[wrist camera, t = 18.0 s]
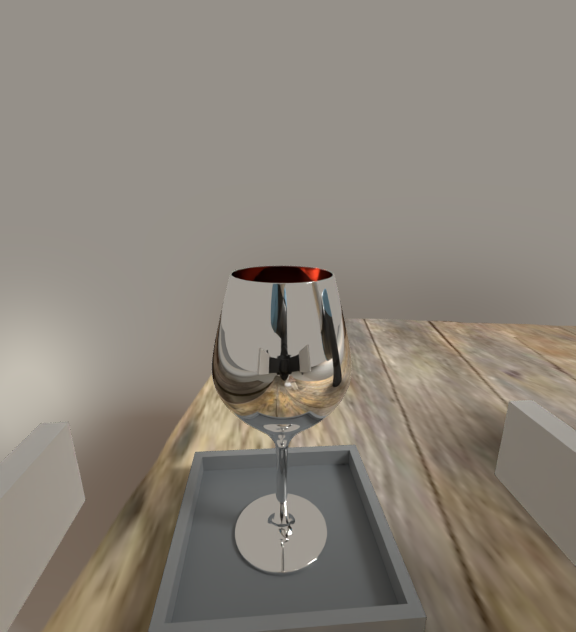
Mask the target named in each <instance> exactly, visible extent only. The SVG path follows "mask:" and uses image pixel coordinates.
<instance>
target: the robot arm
mask: <svg viewBox="0 0 576 632" xmlns="http://www.w3.org/2000/svg"><path fill="white" fill-rule="evenodd" d="M495 476H496V477H497V478H498V479H499V480H500V481H501V482H502V484H503V485H504V486H505V487H506V488H507V489H508V490H509V491H510V493H511V494H512V495H513V496H514V497H515V498H516V499H517V501H518V502H519V503H520V504H521V505H522V506H523V507H524V509H525V510H526V511H527V512H528V513H529V514H530V515H531V516H532V518H533V519H534V520H535V521H536V522H537V523H538V524H539V526H540V527H541V528H542V529H543V530H544V531H545V532H546V534H547V535H548V536H549V537H550V538H551V539H552V540H553V541H554V543H555V544H556V545H557V546H558V547H559V548H560V549H561V551H562V552H563V553H564V554H565V555H566V556H567V557H568V558H569V560H570V561H571V562H572V563H573V564H574V565H575V566H576V430H574V429H573V428H571V427H570V426H569V425H567V424H566V423H564V422H563V421H562V420H560V419H559V418H557V417H556V416H554V415H553V414H552V413H550V412H549V411H547V410H546V409H545V408H543V407H542V406H540V405H539V404H537V403H536V402H535V401H533V400H523V401H509V405H508V410H507V415H506V420H505V425H504V430H503V435H502V440H501V445H500V450H499V455H498V460H497V465H496V470H495ZM84 502H85V495H84V491H83V486H82V481H81V476H80V471H79V467H78V462H77V458H76V453H75V448H74V443H73V439H72V434H71V429H70V425H69V422H57V423H56V422H55V423H40V424H39V425H38V426H37V427H36V428H35V429H34V430H33V431H32V432H31V433H30V434H29V435H28V436H27V437H26V438H25V439H24V440H23V441H22V442H21V443H20V444H19V445H18V446H17V447H16V448H15V449H14V450H13V451H12V452H11V453H10V454H9V455H8V456H7V457H6V458H5V459H4V460H3V461H2V462H1V463H0V632H7V631H8V630H9V628H10V626H11V625H12V623H13V621H14V619H15V618H16V616H17V615H18V613H19V611H20V609H21V608H22V606H23V604H24V603H25V601H26V599H27V598H28V596H29V594H30V593H31V591H32V589H33V588H34V586H35V584H36V583H37V581H38V579H39V577H40V576H41V574H42V573H43V571H44V569H45V567H46V566H47V564H48V562H49V561H50V559H51V557H52V555H53V554H54V552H55V551H56V549H57V547H58V545H59V544H60V542H61V541H62V539H63V537H64V536H65V533H66V532H67V530H68V529H69V527H70V525H71V524H72V522H73V520H74V519H75V517H76V515H77V513H78V512H79V510H80V509H81V507H82V505H83V504H84Z"/></svg>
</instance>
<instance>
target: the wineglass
mask: <svg viewBox="0 0 576 632" xmlns="http://www.w3.org/2000/svg"><path fill="white" fill-rule="evenodd" d="M351 373H352V362H351V352H350V345H349V340H348V334H347V329H346V324H345V319H344V315H343V310H342V306H341V301H340V297H339V293H338V288H337V284H336V280H335V275H334V273H333V272H331V271H328V270H324V269H319V268H313V267H303V266H259V267H250V268H243V269H238V270H235V271H233V272H231V273H230V276H229V280H228V284H227V289H226V293H225V297H224V302H223V306H222V310H221V314H220V320H219V324H218V328H217V333H216V338H215V344H214V350H213V357H212V377H213V382H214V385H215V388H216V391H217V393H218V395H219V397H220V398H221V400H222V401H223V403H224V404H225V405H226V407H227V408H228V409H229V410H230V411H231V412H232V413H233V414H234V415H235V416H236V417H237V418H239V419H240V420H241V421H243V422H244V423H246V424H247V425H249V426H251V427H253V428H255V429H257V430H259V431H261V432H263V433H265V434H267V435H268V436H269V437H270V438H271V439H272V440H273V441H274V443H275V446H276V493H274V494H269V495H265V496H263V497H260V498H258V499H256V500H255V501H253V502H252V503H250V504H249V505H248V506H247V507H246V508H245V509H244V510H243V511H242V513H241V514H240V516H239V518H238V520H237V523H236V527H235V542H236V546H237V549H238V551H239V553H240V555H241V556H242V557H243V559H244V560H245V561H246V562H247V563H248V564H249V565H251V566H252V567H254V568H255V569H257V570H259V571H261V572H264V573H268V574H272V575H288V574H293V573H297V572H300V571H302V570H304V569H306V568H308V567H309V566H310V565H312V564H313V563H314V562H315V561H316V560H317V559H318V558H319V557H320V555H321V554H322V552H323V550H324V548H325V545H326V541H327V526H326V522H325V519H324V517H323V515H322V513H321V512H320V511H319V509H318V508H317V507H316V506H315V505H314V504H313V503H311V502H310V501H308V500H307V499H305V498H303V497H300V496H298V495H294V494H289V493H287V482H288V444H289V442H290V441H291V439H292V438H293V437H294V436H295V435H297V434H299V433H301V432H303V431H305V430H307V429H309V428H311V427H313V426H314V425H316V424H318V423H319V422H321V421H322V420H323V419H325V418H326V417H327V416H328V415H330V414H331V413H332V412H333V411H334V410H335V408H336V407H337V406H338V405H339V403H340V402H341V401H342V399H343V397H344V396H345V394H346V392H347V389H348V387H349V384H350V380H351Z"/></svg>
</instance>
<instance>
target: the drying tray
mask: <svg viewBox="0 0 576 632" xmlns="http://www.w3.org/2000/svg"><path fill="white" fill-rule="evenodd" d="M274 493H276V448H272V449H250V450H228V451H206V452H195V455H194V459H193V462H192V466H191V470H190V474H189V478H188V482H187V485H186V489H185V493H184V497H183V501H182V504H181V508H180V512H179V516H178V520H177V523H176V527H175V531H174V535H173V539H172V543H171V546H170V550H169V554H168V558H167V562H166V565H165V569H164V573H163V577H162V581H161V584H160V588H159V592H158V596H157V600H156V603H155V607H154V611H153V615H152V619H151V623H150V626H149V630H148V632H424V630H425V624H426V618H427V617H426V615H425V612H424V610H423V607H422V605H421V602H420V600H419V598H418V595H417V593H416V590H415V588H414V585H413V583H412V581H411V578H410V576H409V573H408V571H407V569H406V566H405V564H404V561H403V559H402V556H401V554H400V552H399V549H398V547H397V544H396V542H395V539H394V537H393V535H392V532H391V530H390V527H389V525H388V523H387V520H386V518H385V515H384V513H383V510H382V508H381V506H380V503H379V501H378V498H377V496H376V493H375V491H374V489H373V486H372V484H371V481H370V479H369V477H368V474H367V472H366V469H365V467H364V464H363V462H362V460H361V457H360V455H359V452H358V450H357V447H356V445H339V446H317V447H294V448H288V482H287V493H289V494H294V495H298V496H300V497H303V498H305V499H307V500H308V501H310V502H311V503H313V504H314V505H315V506H316V507H317V508H318V509H319V511H320V512H321V513H322V515H323V517H324V519H325V522H326V526H327V541H326V545H325V548H324V550H323V552H322V554H321V555H320V557H319V558H318V559H317V560H316V561H315V562H314V563H313V564H312V565H310V566H309V567H308V568H306V569H304V570H302V571H300V572H297V573H293V574H288V575H272V574H268V573H264V572H261V571H259V570H257V569H255V568H254V567H252V566H251V565H249V564H248V563H247V562H246V561H245V560H244V559H243V557H242V556H241V555H240V553H239V551H238V549H237V546H236V542H235V527H236V523H237V520H238V518H239V516H240V514H241V513H242V511H243V510H244V509H245V508H246V507H247V506H248V505H249V504H250V503H252V502H253V501H255V500H256V499H258V498H260V497H263V496H265V495H269V494H274Z"/></svg>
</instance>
